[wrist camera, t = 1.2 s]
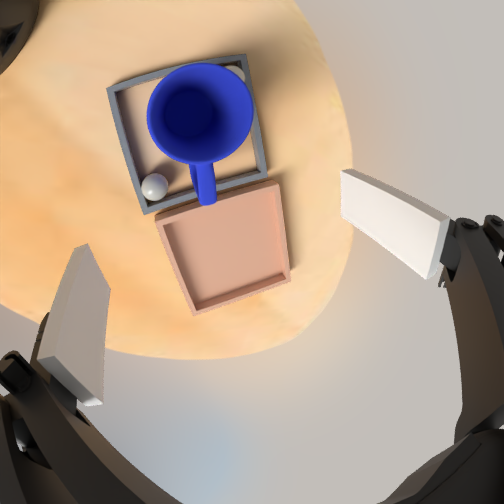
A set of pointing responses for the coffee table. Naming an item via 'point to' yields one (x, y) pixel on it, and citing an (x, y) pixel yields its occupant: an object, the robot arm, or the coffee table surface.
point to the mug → (200, 120)
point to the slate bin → (191, 193)
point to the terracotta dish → (227, 246)
